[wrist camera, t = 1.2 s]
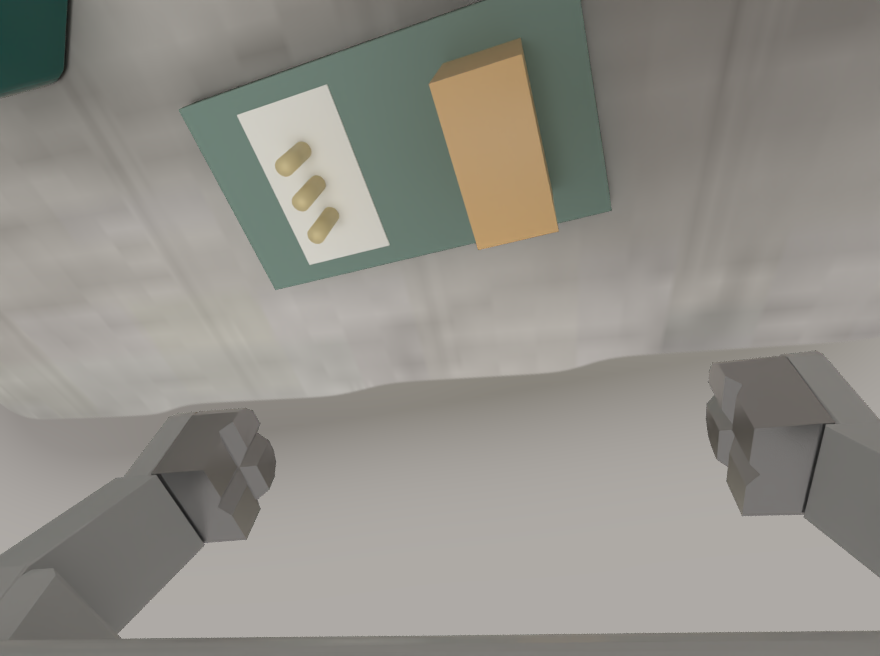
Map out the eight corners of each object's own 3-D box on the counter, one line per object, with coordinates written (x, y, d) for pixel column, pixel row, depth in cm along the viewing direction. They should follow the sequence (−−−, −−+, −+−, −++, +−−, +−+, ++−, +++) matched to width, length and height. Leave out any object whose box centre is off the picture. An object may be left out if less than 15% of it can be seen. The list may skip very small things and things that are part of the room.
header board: (573, -32, 26) (582, -30, 22) (607, 200, 32) (620, 233, 28) (191, 103, 32) (147, 123, 28) (283, 279, 38) (257, 314, 34)
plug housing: (520, 37, 26) (521, 53, 22) (552, 191, 31) (558, 231, 26) (442, 63, 27) (428, 84, 23) (483, 208, 32) (478, 249, 27)
